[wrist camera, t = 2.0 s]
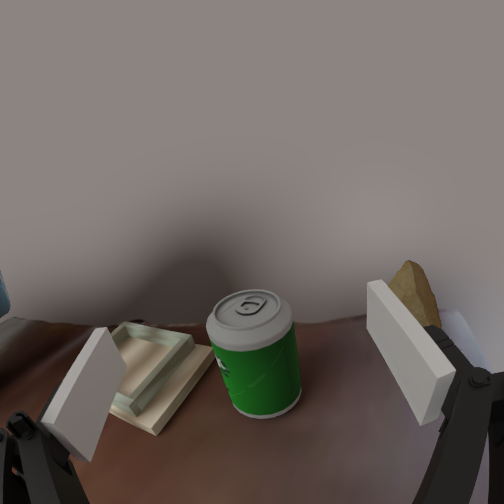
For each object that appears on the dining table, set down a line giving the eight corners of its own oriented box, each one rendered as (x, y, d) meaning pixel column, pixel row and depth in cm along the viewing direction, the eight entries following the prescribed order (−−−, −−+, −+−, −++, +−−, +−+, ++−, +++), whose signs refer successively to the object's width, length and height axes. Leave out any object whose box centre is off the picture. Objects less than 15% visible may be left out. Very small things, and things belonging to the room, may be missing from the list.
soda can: (312, 380, 30) (303, 288, 26) (285, 433, 24) (266, 342, 20) (253, 367, 34) (231, 281, 30) (220, 412, 28) (185, 324, 24)
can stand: (68, 387, 33) (56, 369, 32) (124, 334, 45) (116, 317, 44) (156, 436, 26) (143, 417, 24) (216, 355, 37) (209, 335, 36)
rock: (467, 350, 25) (441, 293, 33) (441, 312, 22) (412, 253, 31) (388, 395, 30) (378, 336, 38) (349, 368, 28) (342, 304, 36)
